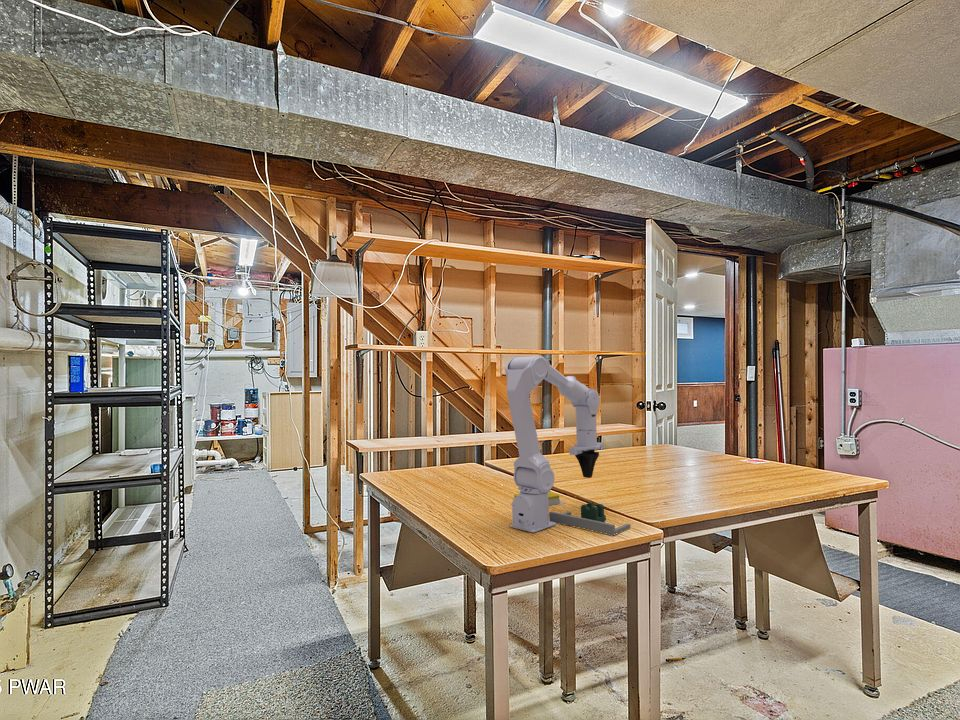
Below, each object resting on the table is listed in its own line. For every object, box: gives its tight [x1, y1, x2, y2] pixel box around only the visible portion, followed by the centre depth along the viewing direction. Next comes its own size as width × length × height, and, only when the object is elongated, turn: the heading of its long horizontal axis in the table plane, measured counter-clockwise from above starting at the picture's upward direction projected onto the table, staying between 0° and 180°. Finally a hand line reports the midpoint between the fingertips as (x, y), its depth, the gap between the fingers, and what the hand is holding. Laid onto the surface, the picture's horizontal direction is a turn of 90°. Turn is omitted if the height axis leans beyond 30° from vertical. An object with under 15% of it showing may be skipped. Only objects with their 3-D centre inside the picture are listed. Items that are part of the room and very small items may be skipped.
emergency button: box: [509, 491, 566, 507], centre depth 156 cm, size 9×4×15 cm
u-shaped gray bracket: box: [549, 511, 631, 536], centre depth 133 cm, size 8×19×2 cm, turn 45°
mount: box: [580, 501, 607, 522], centre depth 134 cm, size 11×4×5 cm, turn 137°
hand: (587, 477), depth 147 cm, fingers closed
